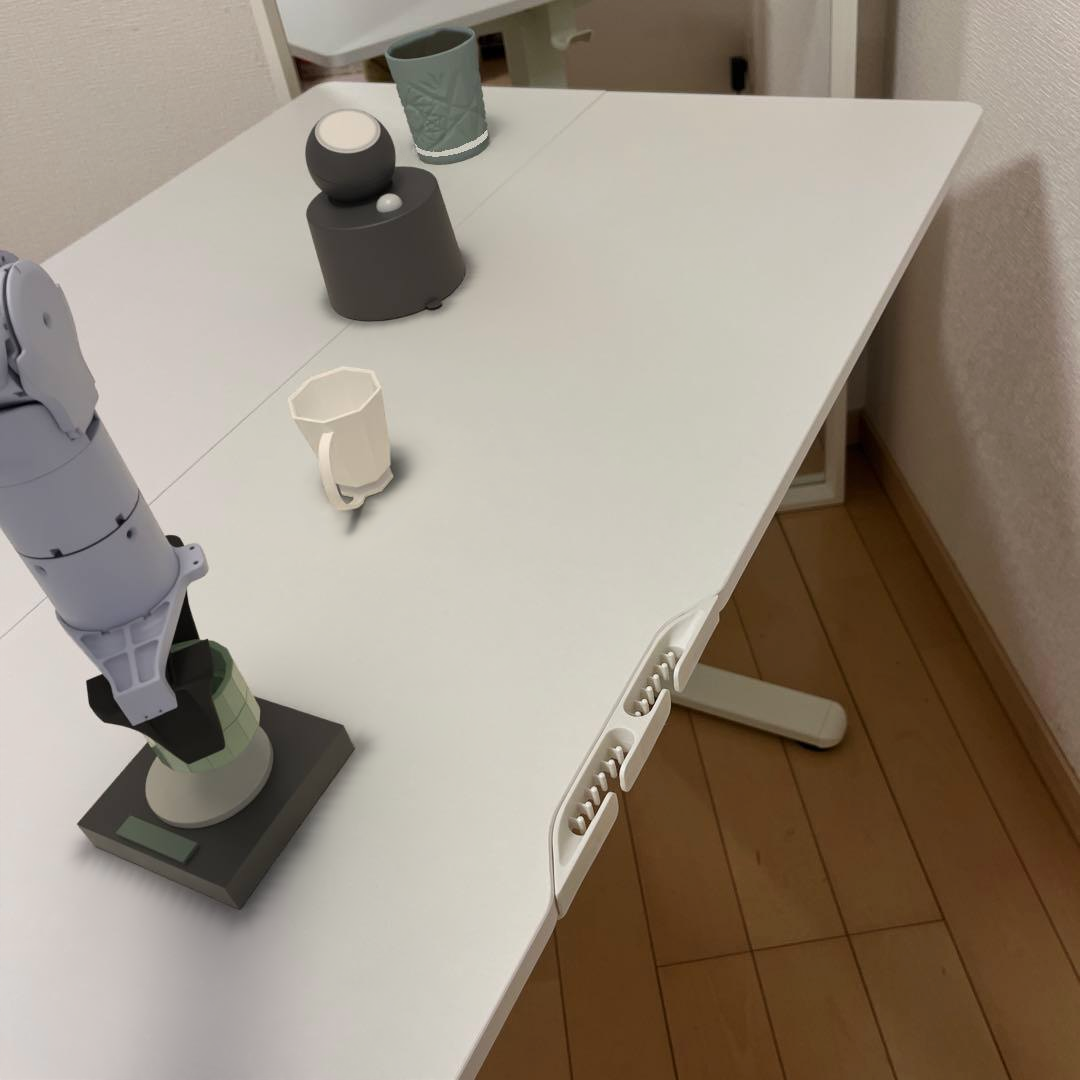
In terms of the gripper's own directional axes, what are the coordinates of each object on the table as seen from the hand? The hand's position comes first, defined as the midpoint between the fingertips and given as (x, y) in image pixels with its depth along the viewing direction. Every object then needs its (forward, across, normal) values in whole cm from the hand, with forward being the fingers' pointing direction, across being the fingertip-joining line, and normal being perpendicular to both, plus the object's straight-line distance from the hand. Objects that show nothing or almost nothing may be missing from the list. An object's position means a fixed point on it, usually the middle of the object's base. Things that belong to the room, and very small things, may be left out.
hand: (195, 709), depth 57 cm
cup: (+9, +24, -13) cm, 29 cm away
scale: (+8, +1, +1) cm, 9 cm away
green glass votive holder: (+2, 0, 0) cm, 2 cm away
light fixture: (+9, +53, -25) cm, 59 cm away
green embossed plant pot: (+9, +80, -41) cm, 90 cm away
